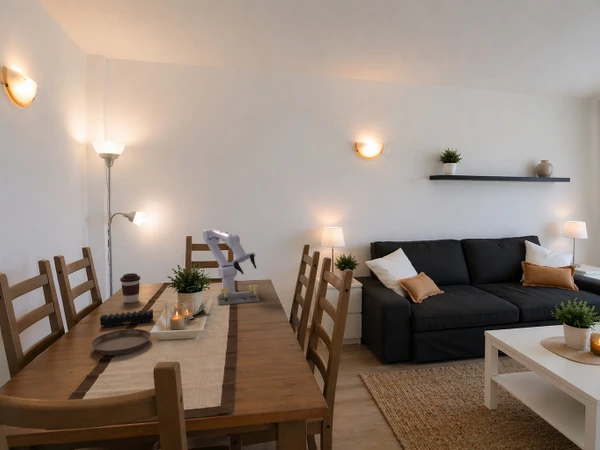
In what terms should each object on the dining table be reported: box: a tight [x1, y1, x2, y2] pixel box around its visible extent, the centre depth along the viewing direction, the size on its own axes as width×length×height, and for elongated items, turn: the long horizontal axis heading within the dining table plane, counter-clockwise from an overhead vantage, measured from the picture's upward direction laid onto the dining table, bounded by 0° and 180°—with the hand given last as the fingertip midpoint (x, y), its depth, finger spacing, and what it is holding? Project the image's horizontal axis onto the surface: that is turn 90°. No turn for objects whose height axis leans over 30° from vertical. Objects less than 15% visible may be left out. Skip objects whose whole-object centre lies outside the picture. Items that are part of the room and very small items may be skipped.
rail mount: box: [99, 308, 154, 329], centre depth 161 cm, size 21×6×5 cm, turn 110°
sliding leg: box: [248, 284, 258, 298], centre depth 199 cm, size 8×4×5 cm, turn 15°
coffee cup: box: [119, 272, 141, 304], centre depth 194 cm, size 10×10×15 cm
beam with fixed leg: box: [217, 287, 250, 301], centre depth 197 cm, size 8×21×5 cm, turn 105°
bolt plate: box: [216, 295, 260, 306], centre depth 197 cm, size 14×22×1 cm, turn 105°
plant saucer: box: [90, 328, 152, 356], centre depth 136 cm, size 21×21×3 cm
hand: (249, 270), depth 193 cm, fingers open, 7 cm apart
